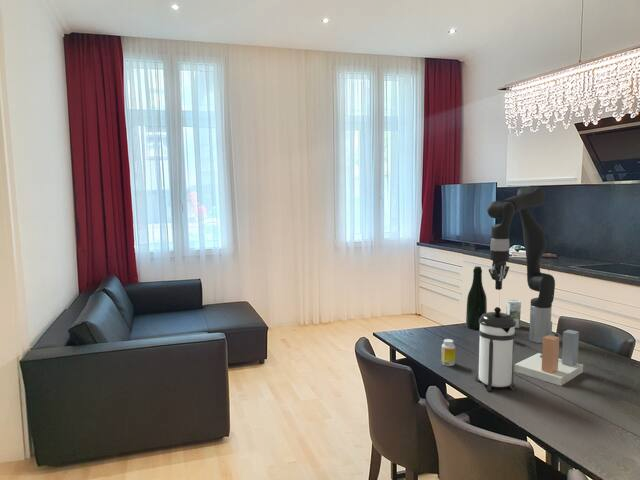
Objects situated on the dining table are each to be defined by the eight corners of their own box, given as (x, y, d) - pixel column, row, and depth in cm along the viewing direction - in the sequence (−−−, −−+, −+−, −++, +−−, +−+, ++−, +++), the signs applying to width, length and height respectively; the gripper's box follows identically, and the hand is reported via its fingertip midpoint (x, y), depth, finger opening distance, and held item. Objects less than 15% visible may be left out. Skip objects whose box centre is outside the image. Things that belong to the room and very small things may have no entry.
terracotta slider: (541, 370, 176) (542, 337, 174) (547, 366, 179) (548, 334, 177) (552, 373, 172) (553, 340, 171) (557, 369, 176) (559, 337, 174)
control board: (514, 371, 183) (514, 362, 182) (537, 359, 195) (538, 351, 195) (560, 385, 169) (561, 376, 168) (582, 372, 181) (583, 363, 181)
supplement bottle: (457, 365, 190) (458, 341, 189) (447, 367, 188) (448, 343, 187) (448, 360, 195) (449, 337, 194) (438, 362, 193) (438, 339, 192)
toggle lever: (541, 352, 189) (552, 333, 185) (544, 350, 191) (555, 331, 187) (547, 356, 188) (558, 337, 183) (550, 354, 189) (561, 335, 185)
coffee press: (523, 383, 171) (526, 306, 168) (507, 397, 160) (510, 314, 156) (479, 371, 183) (481, 299, 180) (461, 383, 171) (463, 306, 168)
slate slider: (561, 363, 182) (563, 332, 181) (567, 360, 185) (568, 329, 184) (572, 366, 179) (573, 334, 178) (577, 363, 182) (579, 331, 181)
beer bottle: (462, 327, 243) (463, 266, 239) (472, 323, 250) (473, 264, 247) (480, 331, 235) (482, 268, 232) (490, 327, 242) (491, 266, 239)
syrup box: (516, 325, 245) (517, 299, 244) (520, 328, 239) (521, 301, 238) (505, 325, 246) (506, 299, 244) (509, 328, 240) (509, 301, 238)
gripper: (499, 247, 198) (498, 285, 200) (483, 249, 189) (481, 290, 191) (516, 248, 192) (514, 288, 194) (499, 251, 184) (498, 293, 185)
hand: (498, 289), depth 192 cm, fingers closed
